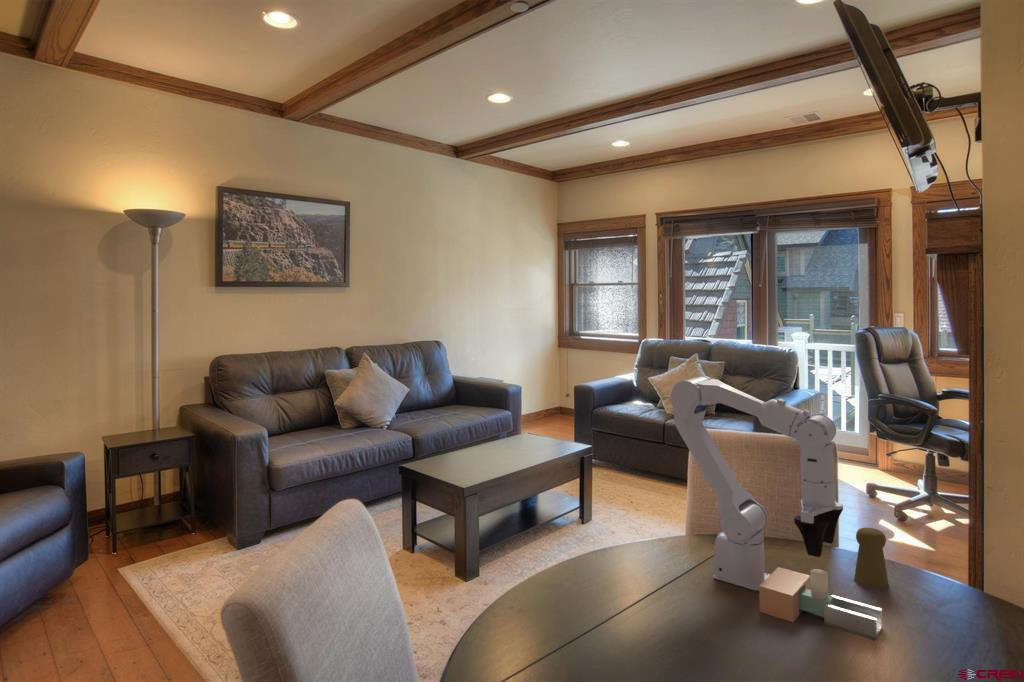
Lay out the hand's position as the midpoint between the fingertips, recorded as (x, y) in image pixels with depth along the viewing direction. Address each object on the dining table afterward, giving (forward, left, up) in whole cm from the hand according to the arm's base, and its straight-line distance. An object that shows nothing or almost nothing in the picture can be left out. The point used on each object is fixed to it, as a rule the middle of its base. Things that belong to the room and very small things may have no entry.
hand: (820, 548), depth 113 cm
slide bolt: (-1, -6, -10) cm, 12 cm away
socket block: (-5, -6, -10) cm, 13 cm away
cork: (+5, +14, -11) cm, 18 cm away
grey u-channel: (+7, -6, -10) cm, 14 cm away
